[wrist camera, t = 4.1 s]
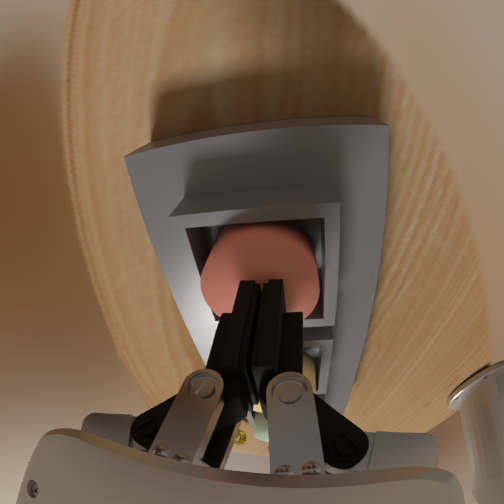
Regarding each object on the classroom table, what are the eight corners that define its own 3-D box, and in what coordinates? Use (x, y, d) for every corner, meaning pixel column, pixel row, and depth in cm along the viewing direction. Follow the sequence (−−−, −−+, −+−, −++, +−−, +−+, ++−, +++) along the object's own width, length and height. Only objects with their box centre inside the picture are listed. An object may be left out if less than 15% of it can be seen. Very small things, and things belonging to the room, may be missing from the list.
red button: (313, 207, 12) (319, 238, 10) (316, 293, 14) (318, 329, 12) (203, 216, 13) (186, 246, 11) (224, 297, 15) (215, 331, 13)
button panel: (369, 116, 12) (406, 134, 8) (340, 394, 27) (342, 432, 23) (150, 142, 14) (100, 170, 10) (237, 395, 29) (231, 432, 25)
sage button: (312, 399, 20) (312, 427, 18) (311, 420, 22) (310, 443, 20) (251, 399, 20) (248, 426, 18) (259, 420, 23) (256, 442, 21)
